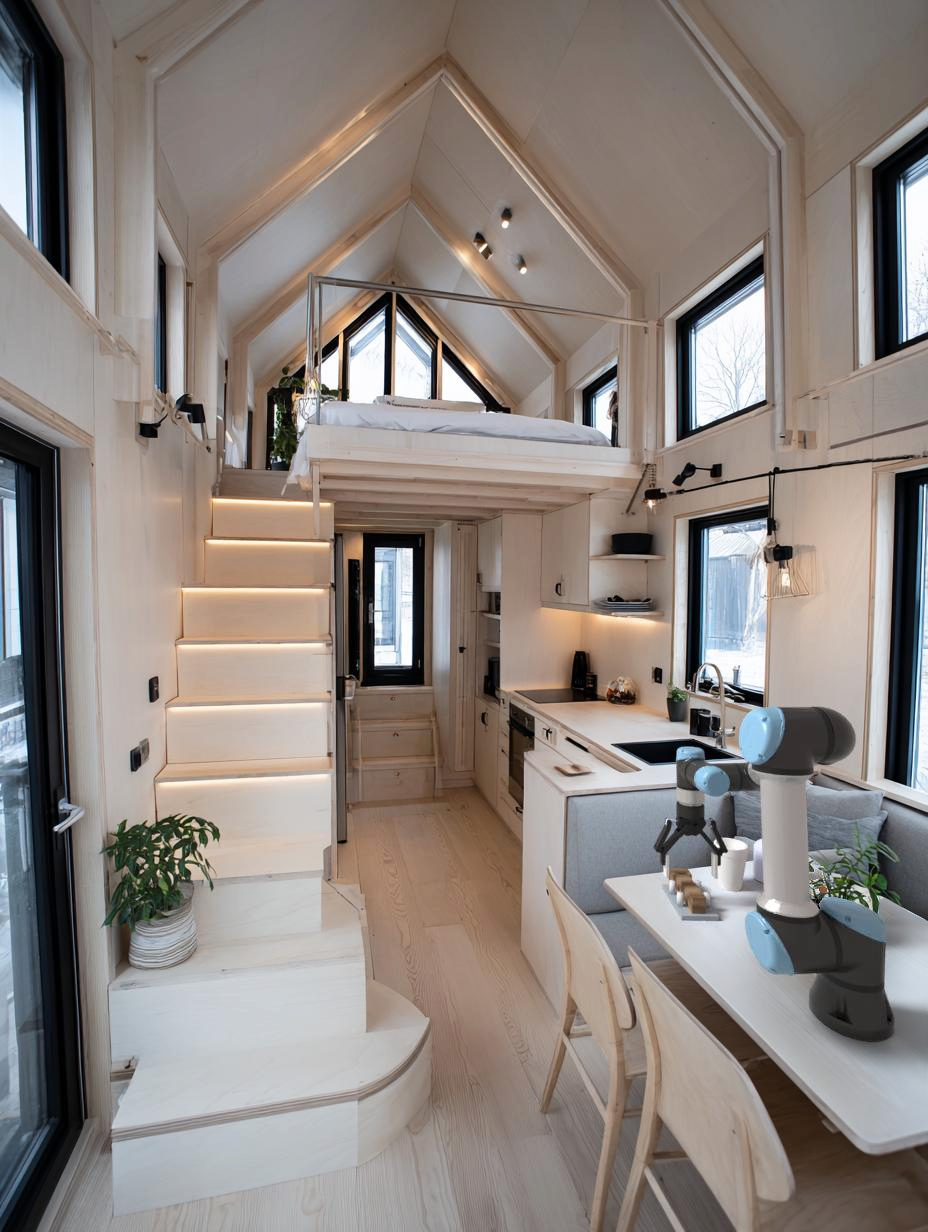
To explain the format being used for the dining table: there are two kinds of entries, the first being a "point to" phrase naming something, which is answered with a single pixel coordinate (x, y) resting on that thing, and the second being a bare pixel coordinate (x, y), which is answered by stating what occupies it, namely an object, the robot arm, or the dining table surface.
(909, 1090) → the dining table surface
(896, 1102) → the dining table surface
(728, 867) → the foam cup
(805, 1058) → the dining table surface
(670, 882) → the rack
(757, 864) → the soap bottle
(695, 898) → the wooden toy mallet
